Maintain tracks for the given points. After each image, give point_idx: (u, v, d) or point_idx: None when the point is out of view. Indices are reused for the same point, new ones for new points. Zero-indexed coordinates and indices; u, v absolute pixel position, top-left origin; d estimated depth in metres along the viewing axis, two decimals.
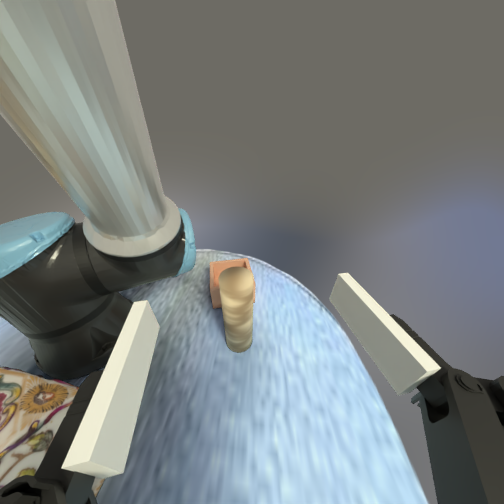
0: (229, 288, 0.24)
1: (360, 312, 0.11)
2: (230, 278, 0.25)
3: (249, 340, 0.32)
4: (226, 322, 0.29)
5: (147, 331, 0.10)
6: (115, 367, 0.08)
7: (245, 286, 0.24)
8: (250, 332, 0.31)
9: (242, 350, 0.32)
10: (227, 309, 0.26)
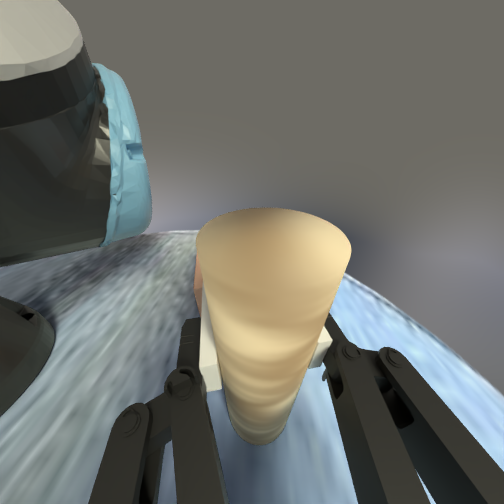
0: (249, 275, 0.04)
1: None
2: (246, 235, 0.06)
3: (287, 417, 0.13)
4: (229, 389, 0.09)
5: None
6: None
7: (332, 267, 0.05)
8: None
9: (269, 441, 0.13)
10: (236, 362, 0.07)
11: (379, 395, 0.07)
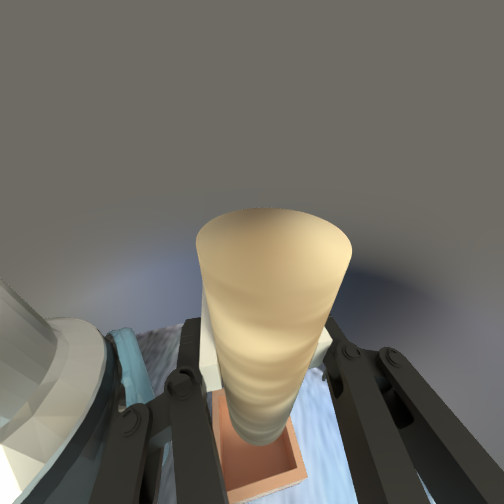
0: (249, 275, 0.04)
1: None
2: (246, 236, 0.06)
3: None
4: (229, 390, 0.09)
5: None
6: None
7: (332, 267, 0.05)
8: (293, 402, 0.12)
9: (269, 441, 0.13)
10: (236, 363, 0.07)
11: (379, 395, 0.07)
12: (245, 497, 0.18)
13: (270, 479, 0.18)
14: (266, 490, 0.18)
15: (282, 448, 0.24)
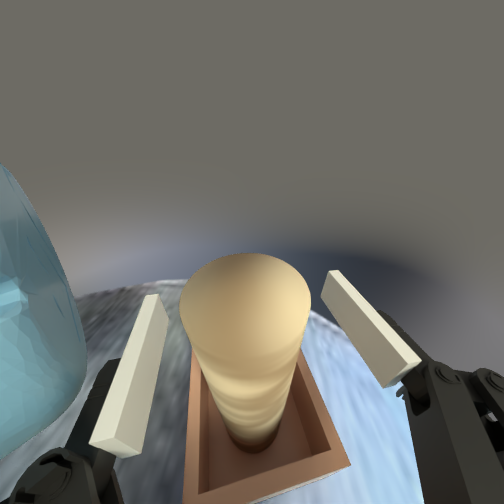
0: (219, 343, 0.05)
1: (349, 308, 0.11)
2: (223, 293, 0.07)
3: (278, 428, 0.14)
4: (220, 411, 0.10)
5: (158, 323, 0.11)
6: (132, 355, 0.08)
7: (289, 332, 0.06)
8: (281, 416, 0.13)
9: (262, 449, 0.14)
10: (220, 397, 0.08)
11: (481, 428, 0.06)
12: (241, 502, 0.09)
13: (285, 469, 0.10)
14: (279, 488, 0.10)
15: (297, 424, 0.16)
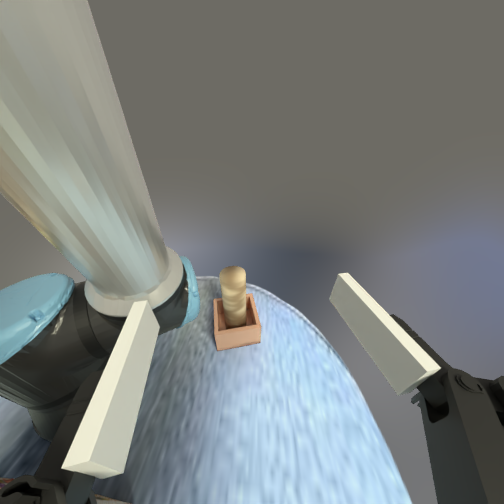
0: (228, 281, 0.33)
1: (361, 312, 0.11)
2: (228, 274, 0.34)
3: (244, 324, 0.41)
4: (225, 309, 0.37)
5: (147, 331, 0.10)
6: (115, 367, 0.08)
7: (239, 280, 0.33)
8: (244, 317, 0.40)
9: None
10: (227, 298, 0.35)
11: None
12: (229, 332, 0.36)
13: (242, 327, 0.37)
14: (240, 330, 0.37)
15: None
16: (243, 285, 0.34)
